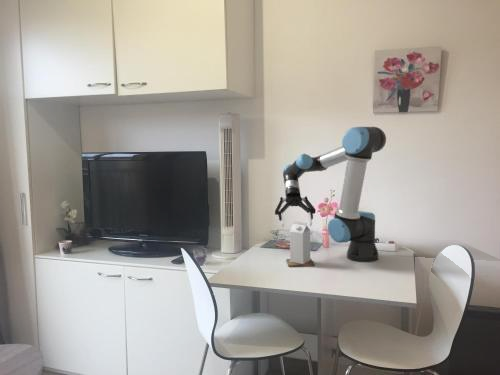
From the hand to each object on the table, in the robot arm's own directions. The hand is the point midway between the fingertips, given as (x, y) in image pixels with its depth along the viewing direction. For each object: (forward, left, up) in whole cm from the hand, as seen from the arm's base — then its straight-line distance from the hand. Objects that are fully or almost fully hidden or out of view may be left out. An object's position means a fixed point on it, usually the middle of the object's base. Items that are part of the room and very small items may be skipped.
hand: (297, 225), depth 203 cm
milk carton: (-1, +5, -17) cm, 18 cm away
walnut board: (-1, +5, -18) cm, 18 cm away
